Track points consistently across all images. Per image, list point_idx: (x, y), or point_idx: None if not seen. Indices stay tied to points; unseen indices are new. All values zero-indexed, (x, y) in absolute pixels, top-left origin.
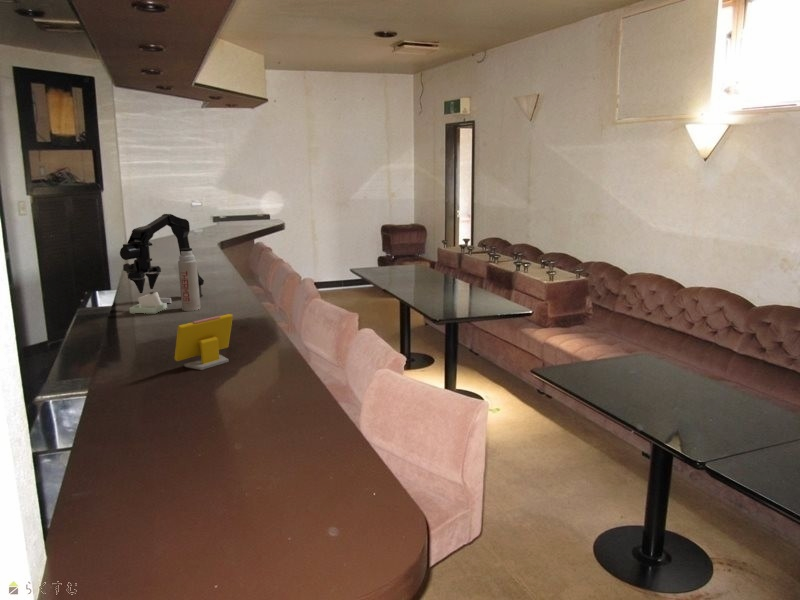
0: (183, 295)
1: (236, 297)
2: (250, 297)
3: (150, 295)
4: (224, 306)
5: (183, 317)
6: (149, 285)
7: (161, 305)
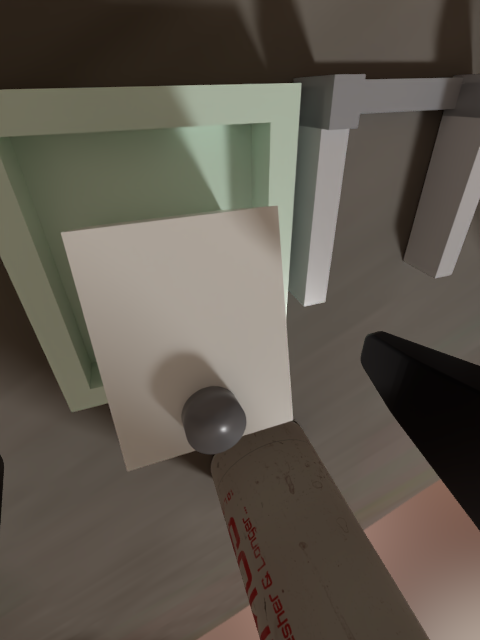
0: (244, 562)
1: None
2: None
3: (124, 448)
4: None
5: (66, 544)
6: (415, 366)
7: None
